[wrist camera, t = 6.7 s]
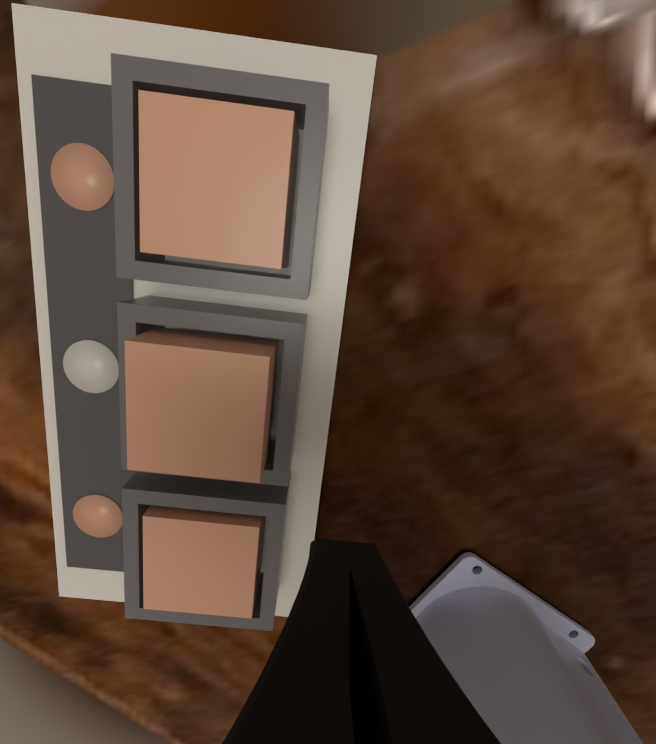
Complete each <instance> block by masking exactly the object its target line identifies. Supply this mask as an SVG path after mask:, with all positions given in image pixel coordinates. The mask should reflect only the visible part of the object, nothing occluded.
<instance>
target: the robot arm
mask: <svg viewBox="0 0 656 744" xmlns="http://www.w3.org/2000/svg"><path fill="white" fill-rule="evenodd" d="M475 566H479V567H478V568H476V569H473V568H474V567H475ZM594 643H595V638H594V637H593V635H592V634H591V633H590V632H589V631H588V630H586V629H585V628H584V627H582V626H581V625H579V624H578V623H576V622H575V621H573V620H572V619H570V618H569V617H567V616H566V615H564V614H563V613H561V612H560V611H558V610H557V609H555V608H554V607H552V606H551V605H549V604H548V603H546V602H545V601H543V600H542V599H540V598H539V597H538V596H536V595H535V594H533V593H532V592H530V591H529V590H527V589H526V588H524V587H523V586H521V585H520V584H518V583H517V582H515V581H514V580H512V579H511V578H509V577H508V576H506V575H505V574H503V573H502V572H500V571H499V570H497V569H496V568H494V567H493V566H492V565H490V564H489V563H487V562H486V561H484V560H483V559H481V558H480V557H478V556H477V555H475V554H473V553H471V552H467V553H463V554H462V555H460V556H459V557H458V558H457V559H456V560H455V561H454V562H453V563H452V564H451V565H450V566H449V567H448V568H447V569H446V570H445V571H444V572H443V573H442V574H441V575H440V576H439V577H438V578H437V579H436V580H435V581H434V582H433V583H432V584H431V585H430V586H429V587H428V588H427V589H426V590H425V591H424V592H423V593H422V594H421V595H420V596H419V597H418V598H417V599H416V600H415V601H414V602H413V603H412V604H411V605H410V606H408V604H407V603H406V601H405V599H404V597H403V596H402V594H401V592H400V590H399V588H398V587H397V585H396V583H395V581H394V579H393V577H392V575H391V574H390V572H389V570H388V568H387V566H386V564H385V562H384V560H383V558H382V556H381V554H380V552H379V550H378V548H377V547H376V546H375V545H374V544H369V543H359V542H348V541H338V540H327V539H315V540H314V541H312V542H311V543H310V551H309V558H308V563H307V566H306V570H305V573H304V576H303V579H302V582H301V585H300V588H299V591H298V594H297V596H296V599H295V601H294V603H293V606H292V608H291V611H290V613H289V616H288V618H287V621H286V623H285V625H284V628H283V630H282V632H281V634H280V636H279V638H278V640H277V642H276V644H275V647H274V649H273V651H272V653H271V655H270V657H269V659H268V661H267V663H266V665H265V667H264V669H263V671H262V673H261V675H260V677H259V679H258V681H257V683H256V685H255V687H254V688H253V690H252V692H251V694H250V696H249V698H248V700H247V701H246V703H245V705H244V707H243V709H242V710H241V712H240V714H239V716H238V717H237V719H236V721H235V723H234V724H233V726H232V728H231V730H230V731H229V733H228V735H227V737H226V738H225V740H224V742H223V743H222V744H643V743H642V741H641V740H640V738H639V737H638V735H637V733H636V732H635V730H634V729H633V727H632V726H631V724H630V723H629V721H628V720H627V718H626V717H625V715H624V714H623V712H622V711H621V709H620V707H619V706H618V704H617V703H616V701H615V700H614V698H613V697H612V695H611V694H610V692H609V691H608V689H607V688H606V686H605V684H604V683H603V681H602V680H601V678H600V677H599V675H598V674H597V672H596V671H595V669H594V668H593V666H592V665H591V663H590V661H589V660H588V658H587V657H586V655H585V654H584V653H585V652H587V651H588V650H589V649H590V648H591V647H592V646H593V645H594Z"/></svg>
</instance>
